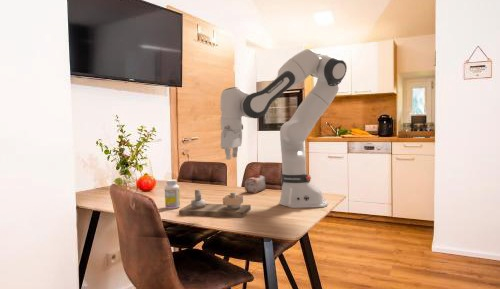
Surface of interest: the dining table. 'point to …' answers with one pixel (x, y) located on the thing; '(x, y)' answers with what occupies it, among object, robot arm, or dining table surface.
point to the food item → (255, 183)
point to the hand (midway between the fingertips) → (231, 158)
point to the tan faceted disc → (233, 200)
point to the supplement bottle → (172, 195)
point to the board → (213, 208)
